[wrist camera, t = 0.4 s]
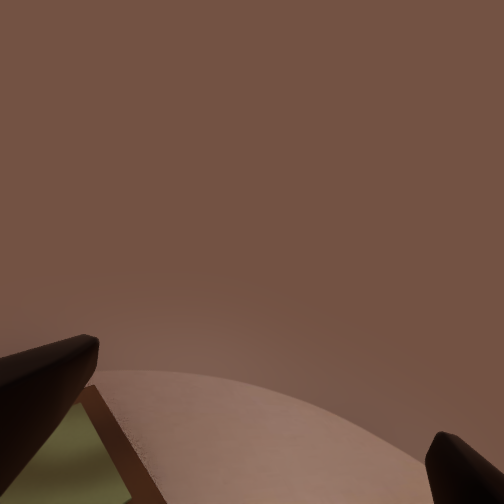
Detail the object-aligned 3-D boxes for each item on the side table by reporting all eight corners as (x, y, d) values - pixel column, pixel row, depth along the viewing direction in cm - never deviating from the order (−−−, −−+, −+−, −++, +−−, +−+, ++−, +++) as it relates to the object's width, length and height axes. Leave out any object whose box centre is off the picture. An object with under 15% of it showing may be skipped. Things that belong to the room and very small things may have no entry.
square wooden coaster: (161, 539, 19) (169, 504, 18) (-122, 757, 11) (-132, 713, 11) (91, 412, 26) (94, 381, 25) (-115, 493, 18) (-121, 452, 17)
